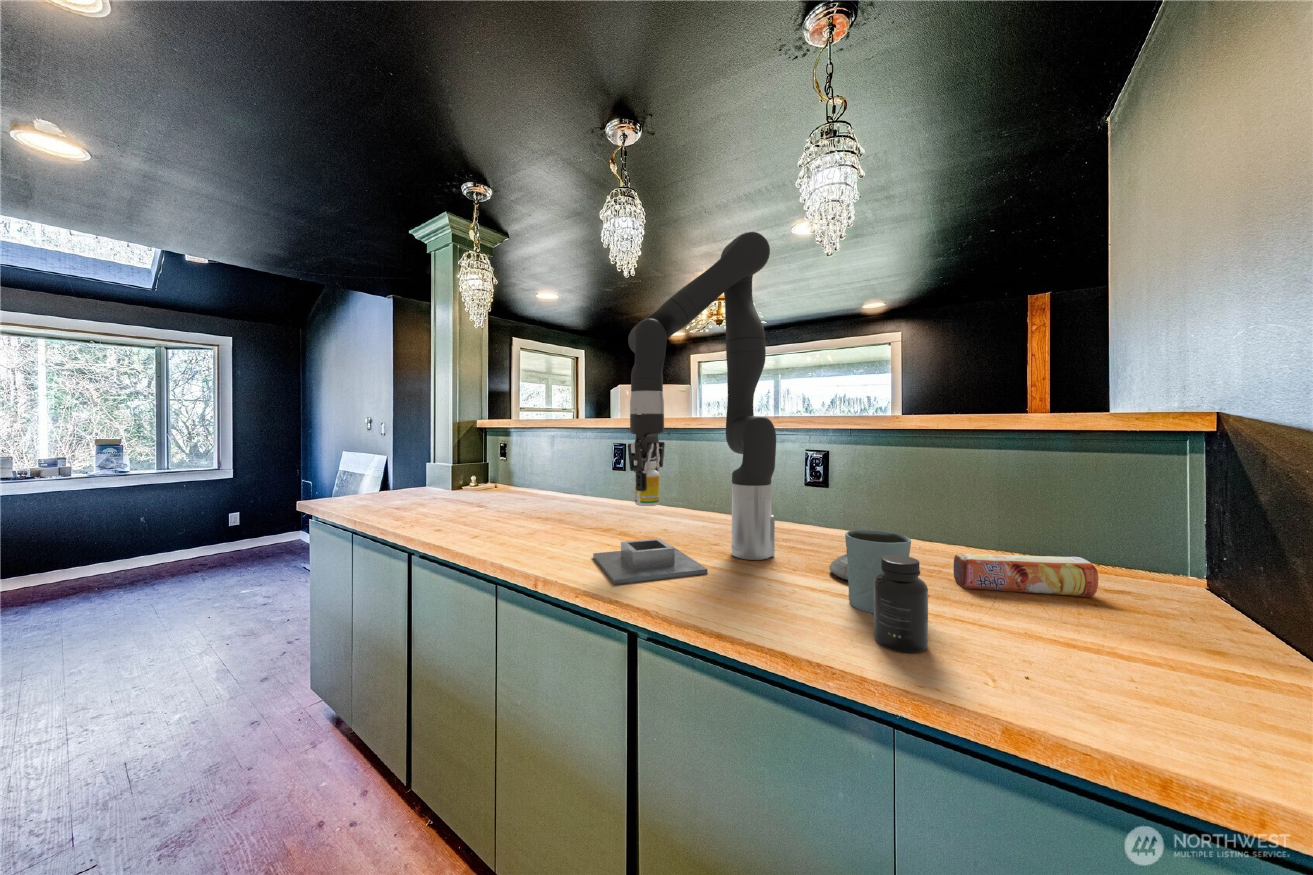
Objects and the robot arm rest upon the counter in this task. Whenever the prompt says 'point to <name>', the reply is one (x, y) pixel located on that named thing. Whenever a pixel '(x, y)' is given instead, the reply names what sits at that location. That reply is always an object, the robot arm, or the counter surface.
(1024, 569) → the snack package
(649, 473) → the supplement bottle
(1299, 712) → the counter surface
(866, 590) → the grey-green cup
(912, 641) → the supplement bottle
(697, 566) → the sleeve
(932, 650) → the counter surface
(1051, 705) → the counter surface
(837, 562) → the flying saucer
